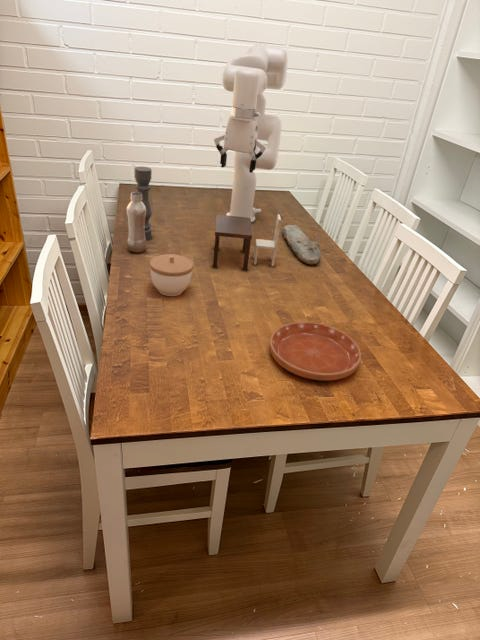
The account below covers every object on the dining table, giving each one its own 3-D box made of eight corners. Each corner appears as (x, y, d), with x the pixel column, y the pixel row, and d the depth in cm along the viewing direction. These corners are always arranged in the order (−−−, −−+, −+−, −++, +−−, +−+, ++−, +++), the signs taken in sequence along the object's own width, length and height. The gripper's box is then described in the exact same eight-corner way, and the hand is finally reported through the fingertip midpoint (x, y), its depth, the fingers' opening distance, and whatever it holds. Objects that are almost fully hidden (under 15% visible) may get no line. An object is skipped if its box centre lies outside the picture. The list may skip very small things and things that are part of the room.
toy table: (246, 251, 175) (250, 217, 168) (247, 271, 160) (252, 235, 154) (214, 247, 174) (217, 214, 167) (212, 267, 159) (215, 231, 153)
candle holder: (154, 236, 177) (155, 168, 164) (146, 242, 172) (146, 172, 159) (139, 233, 178) (139, 165, 165) (130, 238, 173) (130, 168, 160)
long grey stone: (299, 233, 200) (276, 234, 198) (301, 221, 197) (277, 221, 195) (326, 266, 170) (299, 266, 168) (328, 252, 167) (301, 252, 165)
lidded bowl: (174, 277, 151) (175, 244, 145) (200, 293, 143) (202, 259, 138) (140, 287, 142) (140, 253, 137) (166, 305, 135) (167, 270, 130)
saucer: (295, 394, 108) (298, 381, 106) (253, 339, 125) (255, 327, 123) (376, 376, 117) (380, 364, 115) (326, 327, 134) (329, 316, 132)
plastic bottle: (150, 250, 166) (150, 193, 156) (138, 256, 161) (138, 198, 150) (134, 245, 168) (134, 189, 158) (123, 251, 163) (121, 193, 152)
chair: (272, 259, 171) (279, 214, 162) (273, 266, 165) (281, 220, 157) (253, 257, 170) (259, 212, 161) (253, 264, 165) (260, 218, 156)
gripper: (272, 116, 150) (265, 171, 159) (220, 108, 153) (216, 162, 162) (267, 119, 144) (260, 176, 153) (213, 110, 147) (209, 167, 156)
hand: (237, 169), depth 157 cm, fingers open, 9 cm apart
